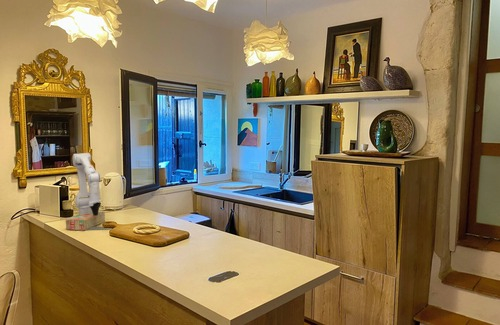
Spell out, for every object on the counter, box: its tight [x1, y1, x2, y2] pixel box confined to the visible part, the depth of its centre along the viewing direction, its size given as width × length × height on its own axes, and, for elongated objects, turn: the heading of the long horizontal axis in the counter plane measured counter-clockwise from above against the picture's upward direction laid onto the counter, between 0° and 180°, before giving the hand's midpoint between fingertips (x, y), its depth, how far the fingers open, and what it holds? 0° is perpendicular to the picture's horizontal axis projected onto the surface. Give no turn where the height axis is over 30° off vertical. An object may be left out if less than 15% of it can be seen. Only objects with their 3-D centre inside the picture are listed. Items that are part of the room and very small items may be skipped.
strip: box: [76, 226, 113, 232], centre depth 220 cm, size 6×20×1 cm, turn 95°
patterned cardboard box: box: [65, 211, 106, 231], centre depth 226 cm, size 21×6×12 cm
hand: (95, 215), depth 220 cm, fingers closed
